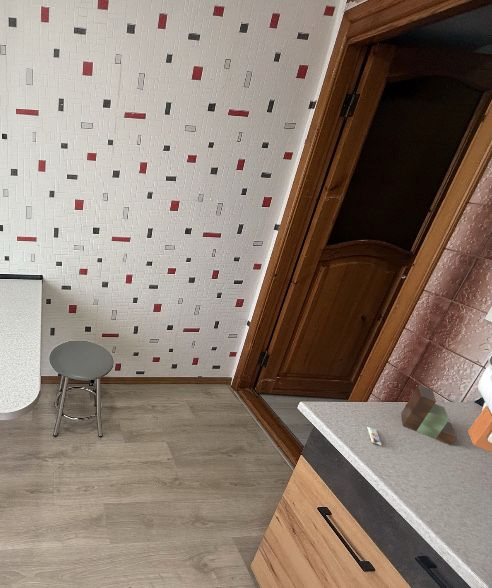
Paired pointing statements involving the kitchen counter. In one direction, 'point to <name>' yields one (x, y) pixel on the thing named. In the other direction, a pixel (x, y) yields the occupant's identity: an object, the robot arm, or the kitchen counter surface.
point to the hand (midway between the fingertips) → (488, 432)
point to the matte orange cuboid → (482, 430)
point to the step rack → (427, 416)
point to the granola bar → (374, 436)
